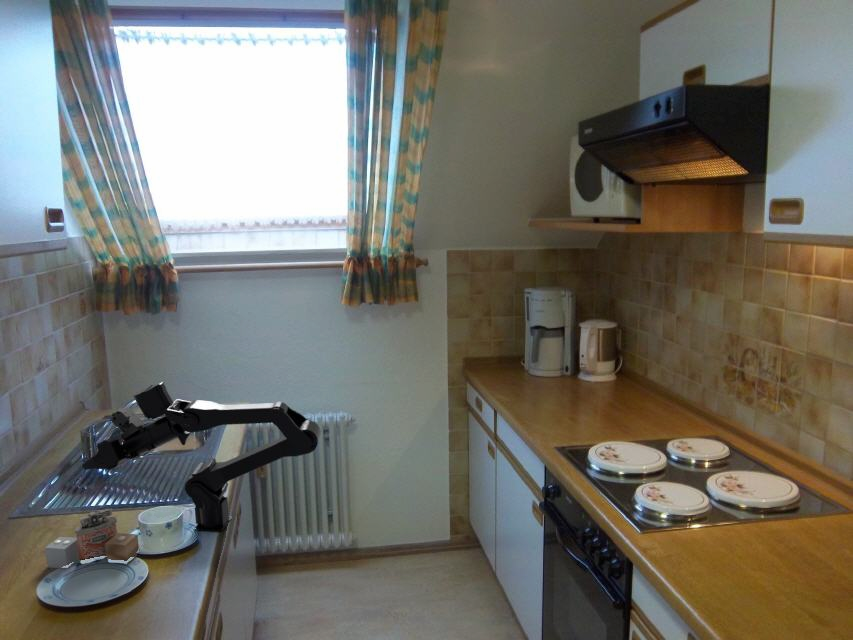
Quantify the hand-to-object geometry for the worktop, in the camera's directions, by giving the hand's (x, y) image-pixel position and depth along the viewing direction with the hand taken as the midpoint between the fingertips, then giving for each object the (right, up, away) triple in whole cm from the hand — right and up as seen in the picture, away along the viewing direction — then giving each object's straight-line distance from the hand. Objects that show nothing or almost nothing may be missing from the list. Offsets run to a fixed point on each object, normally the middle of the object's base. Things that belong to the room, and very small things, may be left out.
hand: (94, 462), depth 153 cm
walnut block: (+11, -18, -9) cm, 23 cm away
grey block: (-1, -19, -11) cm, 21 cm away
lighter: (+5, -18, -9) cm, 21 cm away
